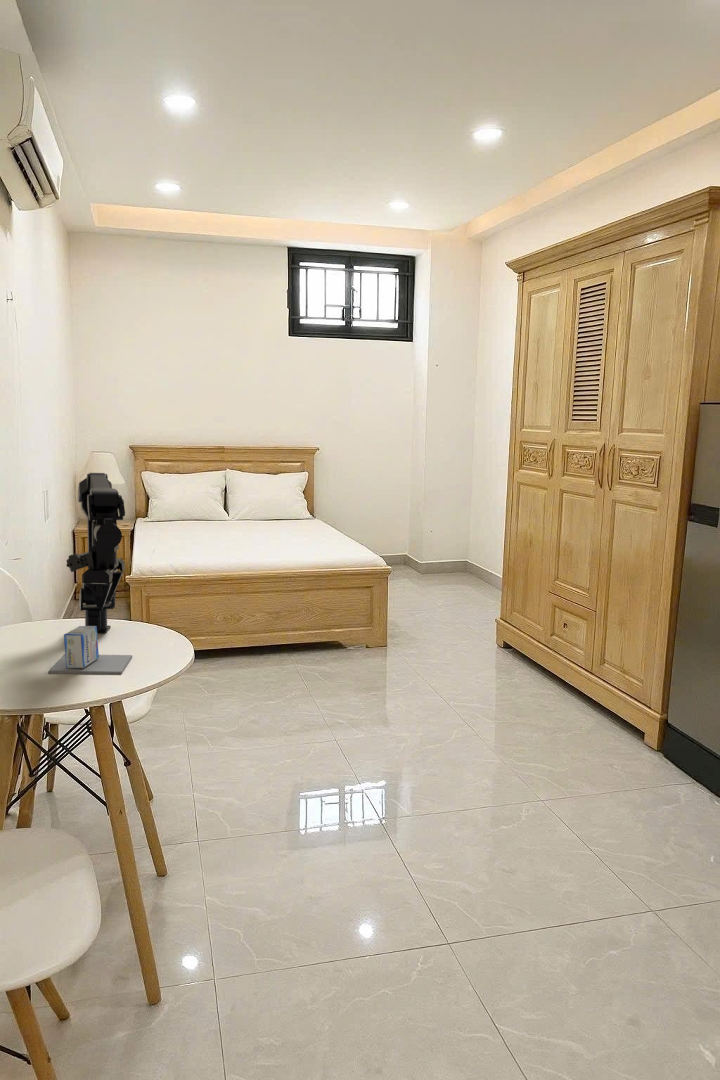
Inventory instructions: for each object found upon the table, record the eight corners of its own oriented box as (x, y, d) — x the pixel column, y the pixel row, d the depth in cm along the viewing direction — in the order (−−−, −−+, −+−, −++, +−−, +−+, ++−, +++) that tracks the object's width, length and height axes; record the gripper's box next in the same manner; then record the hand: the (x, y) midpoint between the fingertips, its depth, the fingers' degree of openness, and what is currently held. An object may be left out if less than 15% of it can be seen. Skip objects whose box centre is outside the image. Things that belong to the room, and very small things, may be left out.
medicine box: (99, 657, 186) (84, 668, 177) (81, 657, 186) (65, 668, 177) (97, 625, 185) (81, 634, 176) (78, 625, 185) (62, 634, 176)
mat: (64, 656, 188) (64, 654, 188) (132, 657, 190) (132, 655, 190) (48, 673, 175) (48, 670, 175) (121, 674, 177) (121, 671, 177)
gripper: (80, 535, 198) (80, 595, 200) (58, 546, 179) (59, 613, 181) (125, 536, 199) (125, 597, 201) (108, 548, 180) (108, 614, 182)
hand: (104, 605), depth 191 cm, fingers open, 9 cm apart
